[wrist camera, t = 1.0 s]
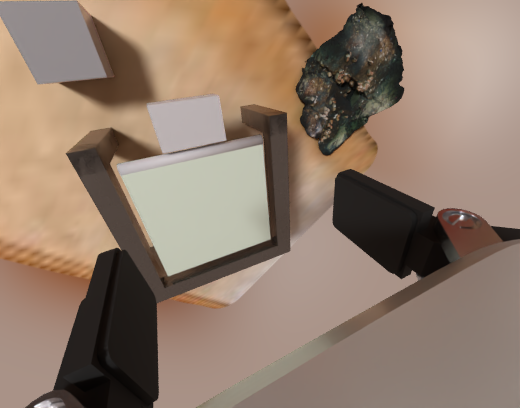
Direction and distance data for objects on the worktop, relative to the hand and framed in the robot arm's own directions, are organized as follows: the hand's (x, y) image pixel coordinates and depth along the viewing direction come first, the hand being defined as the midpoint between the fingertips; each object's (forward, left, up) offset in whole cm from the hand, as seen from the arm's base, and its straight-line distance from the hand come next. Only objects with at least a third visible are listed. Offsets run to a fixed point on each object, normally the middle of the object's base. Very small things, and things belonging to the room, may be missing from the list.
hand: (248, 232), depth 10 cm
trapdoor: (+5, 0, -16) cm, 17 cm away
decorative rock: (-2, +24, -24) cm, 34 cm away
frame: (+8, 0, -23) cm, 24 cm away
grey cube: (-9, -8, -23) cm, 26 cm away
